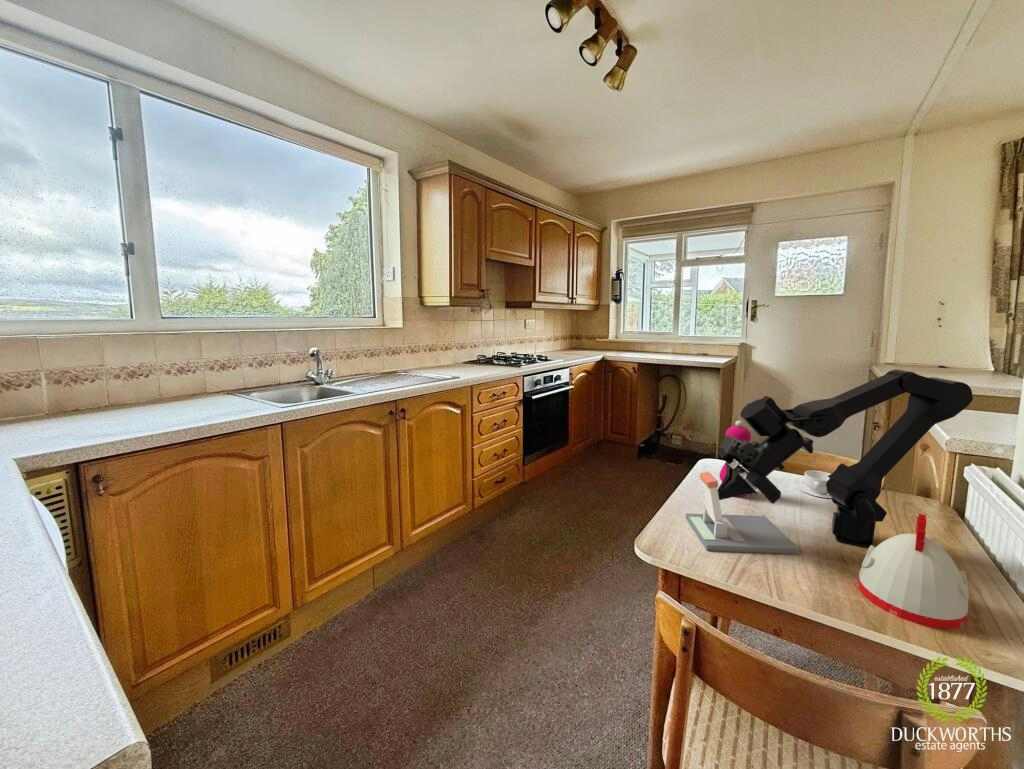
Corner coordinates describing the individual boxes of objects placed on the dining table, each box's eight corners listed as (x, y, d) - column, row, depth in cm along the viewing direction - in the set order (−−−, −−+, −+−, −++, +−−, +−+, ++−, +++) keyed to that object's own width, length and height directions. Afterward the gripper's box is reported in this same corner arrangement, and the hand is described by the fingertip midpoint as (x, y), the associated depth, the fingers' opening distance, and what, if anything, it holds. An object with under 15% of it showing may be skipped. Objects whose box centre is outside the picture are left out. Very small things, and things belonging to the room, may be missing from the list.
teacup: (802, 481, 126) (803, 466, 125) (844, 491, 119) (847, 475, 118) (793, 492, 119) (795, 475, 118) (838, 503, 112) (840, 486, 111)
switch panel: (764, 520, 103) (766, 503, 102) (797, 553, 89) (800, 533, 88) (685, 518, 104) (686, 500, 104) (706, 550, 91) (708, 530, 90)
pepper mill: (745, 500, 114) (752, 425, 110) (715, 493, 118) (721, 421, 114) (750, 491, 119) (757, 419, 116) (721, 484, 124) (727, 415, 120)
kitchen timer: (962, 597, 76) (978, 517, 73) (970, 643, 66) (989, 551, 63) (860, 566, 85) (871, 493, 82) (853, 602, 75) (866, 520, 72)
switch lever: (715, 511, 99) (708, 471, 97) (724, 522, 94) (717, 480, 92) (706, 513, 99) (699, 473, 98) (714, 524, 94) (707, 482, 93)
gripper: (730, 413, 101) (678, 458, 104) (770, 437, 83) (705, 490, 86) (762, 446, 102) (709, 490, 105) (809, 477, 84) (744, 529, 87)
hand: (715, 498), depth 96 cm, fingers closed, pressing on switch lever
